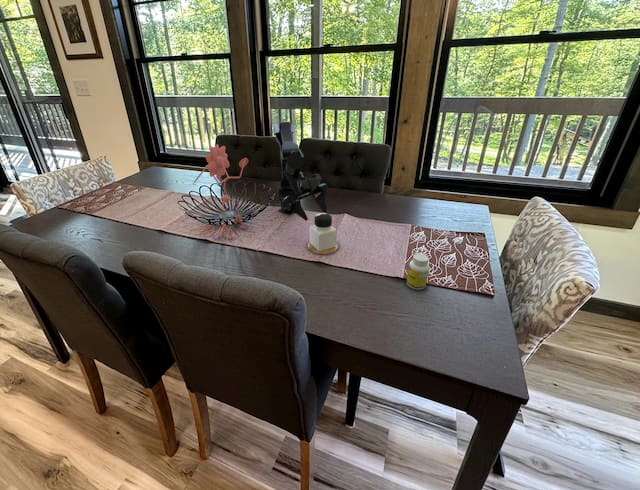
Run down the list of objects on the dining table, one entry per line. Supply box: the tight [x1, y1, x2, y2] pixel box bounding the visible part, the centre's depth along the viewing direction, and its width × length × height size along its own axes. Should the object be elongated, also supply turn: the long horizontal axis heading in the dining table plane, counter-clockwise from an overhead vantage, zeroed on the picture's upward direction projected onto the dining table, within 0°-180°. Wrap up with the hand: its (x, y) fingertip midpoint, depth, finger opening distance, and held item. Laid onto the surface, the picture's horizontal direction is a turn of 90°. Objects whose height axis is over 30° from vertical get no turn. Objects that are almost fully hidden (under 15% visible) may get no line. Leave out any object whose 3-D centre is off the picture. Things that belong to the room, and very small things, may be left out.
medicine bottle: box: [309, 212, 338, 252], centre depth 111 cm, size 7×7×12 cm
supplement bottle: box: [405, 252, 431, 291], centre depth 90 cm, size 5×5×10 cm
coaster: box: [306, 240, 339, 255], centre depth 114 cm, size 11×11×1 cm
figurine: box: [193, 143, 249, 240], centre depth 120 cm, size 15×26×35 cm, turn 149°
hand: (316, 216), depth 111 cm, fingers open, 9 cm apart
